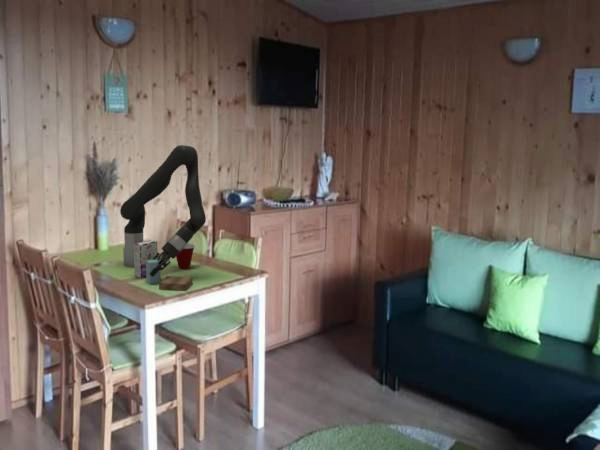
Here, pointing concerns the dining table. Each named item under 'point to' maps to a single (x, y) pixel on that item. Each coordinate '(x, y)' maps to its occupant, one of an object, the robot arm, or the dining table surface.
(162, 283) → the walnut board
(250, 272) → the dining table surface
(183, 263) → the plastic cup
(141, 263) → the candy bar box
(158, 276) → the teal block
